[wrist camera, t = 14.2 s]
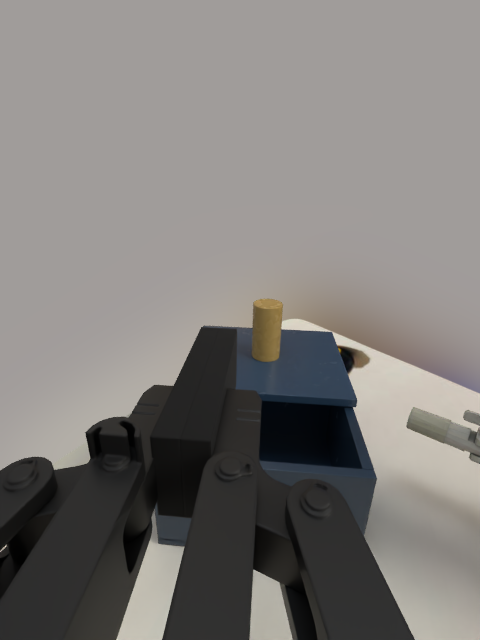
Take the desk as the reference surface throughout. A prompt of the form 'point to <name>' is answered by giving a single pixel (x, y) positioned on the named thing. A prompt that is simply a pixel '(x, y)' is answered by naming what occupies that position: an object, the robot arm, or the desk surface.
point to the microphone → (448, 430)
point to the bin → (305, 458)
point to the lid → (290, 361)
